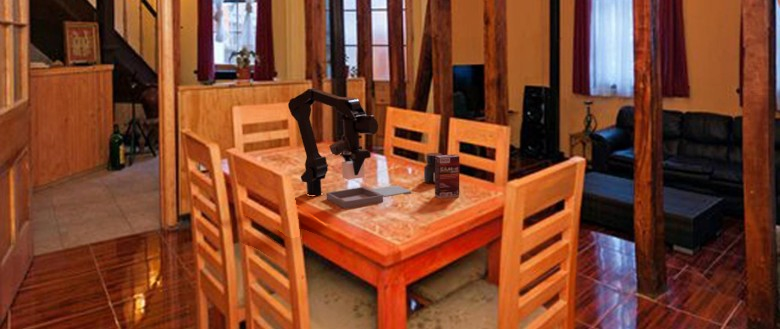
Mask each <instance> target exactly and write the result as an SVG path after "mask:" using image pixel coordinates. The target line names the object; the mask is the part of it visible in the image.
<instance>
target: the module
mask: <svg viewBox="0 0 780 329" xmlns="http://www.w3.org/2000/svg"><path fill="white" fill-rule="evenodd" d="M341 171H342V178H343V179H345V180H349V181H350V180H353V179H354V180H355V179H362V178H365V161H364V162H363V164H362V166H361V168H360V171H359V173H358V175H355V174H354V168H353V162H352V161H345V160H344V161H341Z"/></svg>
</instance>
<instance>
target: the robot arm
mask: <svg viewBox="0 0 780 329" xmlns="http://www.w3.org/2000/svg"><path fill="white" fill-rule="evenodd" d="M315 102H318V103H321V104H323V105H326V106H329V107H333V108H334V109H335V110H336V111H337V112H338V113H340V114H341V115H340V116H339V118H338V120H337V121H343V135H341V137H340V140H338V141H335V142H334V143H332V144H331V145H330V144H329V149H330V152H331V155H335V156H338V155H339V156H340V157H341V158H343V159H344V162H345V161H352V162H353V168H354V174H355V175H358V173H359V171H360V168H361V166H362V164H363V162H364V163H365V160H366V159H370V158H372V157H371V156H372V154H371V151H370V150H369V149H366V148H363V146H362V145H361V143H360V142H361V141H360V139H362V135H361V134H363V135H364V134H365V135H375V134H377V132H378V130H379V123H378V121H377V119H376V118H375V115H372V114H369V115H368V114H367V112H366V111H365V109H364V107H363V106H362V104H361V102H360V100H359V99H358V98H357V97H350V96H349V97H346V96H344V97H343V96H338V95H336V94H332V93H329V92H326V91H323V90H320V89H318V88H316V87H313V88H307V89H306V90H305V91H303V92H302V93H300V94H298V95H297V96H295V97H294V98H293V97H291V99H289V102H287V103H288V104H287V106H288V109H289V110H288V111H289V112H290V114H291V116H292V117H293V118H294V120H296V122H297V125H298V129H299V133H300V136H301V141H302V144H303V148H304V149H303V150H304V152H305V156H306V159H305V162H304V168H305V170H304V172H303V173H302V175H301V176H300V178H301V182H302V183H306V193H307V194H309V195H320V196H322V195H321V193H323V192H322V180H323V179H326V176H327V175H326V174H327V172H328V170H329V168H328V167H329V165H328V163H327V157H326V156H322V155H321V154H320V151H319V149H318V145H317V141H316V136H315V134H314V130H313V127H312V126H313V125H312V123H311V114H312V107H311V106H312V105H313V104H315Z"/></svg>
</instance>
